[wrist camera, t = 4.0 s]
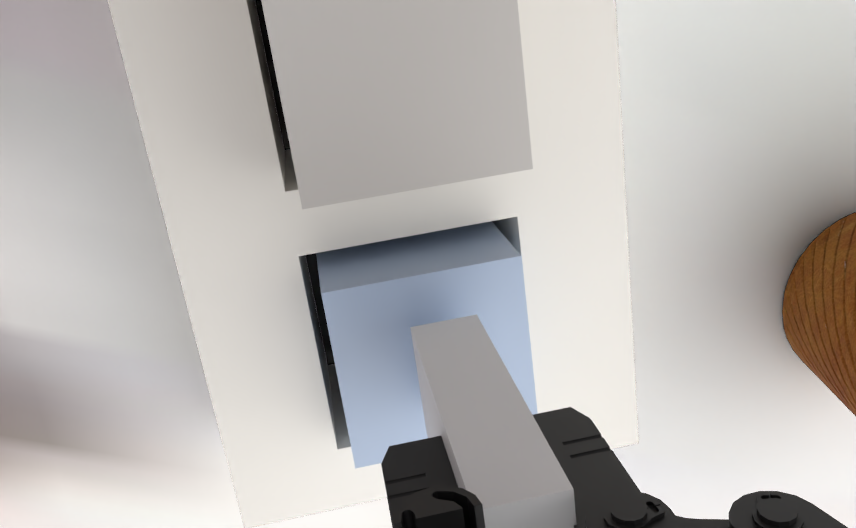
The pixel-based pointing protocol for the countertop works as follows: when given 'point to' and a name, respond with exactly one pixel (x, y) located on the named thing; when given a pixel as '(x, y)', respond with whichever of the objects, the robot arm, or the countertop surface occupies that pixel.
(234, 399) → the keypad base
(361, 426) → the key blue
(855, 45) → the countertop surface
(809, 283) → the disposable coffee cup
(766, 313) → the countertop surface
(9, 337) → the countertop surface
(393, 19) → the key grey
